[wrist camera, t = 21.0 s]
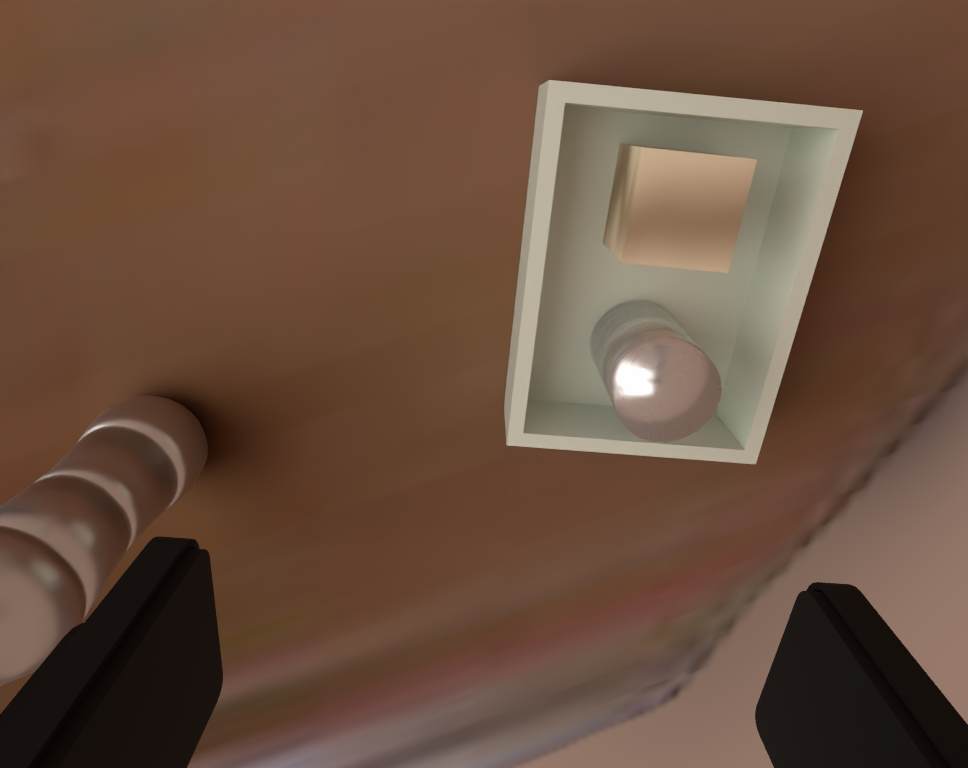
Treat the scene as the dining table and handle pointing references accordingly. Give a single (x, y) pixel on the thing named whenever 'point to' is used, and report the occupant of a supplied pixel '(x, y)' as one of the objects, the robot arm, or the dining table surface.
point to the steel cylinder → (654, 372)
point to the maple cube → (677, 207)
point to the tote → (681, 292)
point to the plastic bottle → (88, 521)
